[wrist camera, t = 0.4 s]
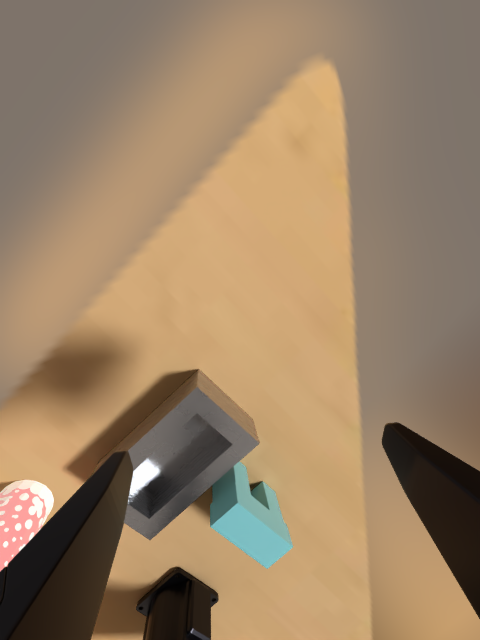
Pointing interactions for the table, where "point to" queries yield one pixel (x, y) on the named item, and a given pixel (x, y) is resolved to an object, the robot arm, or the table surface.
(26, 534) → the beverage cup
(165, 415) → the grey slotted tray
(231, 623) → the table surface
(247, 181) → the table surface
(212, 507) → the light blue rectangular block
